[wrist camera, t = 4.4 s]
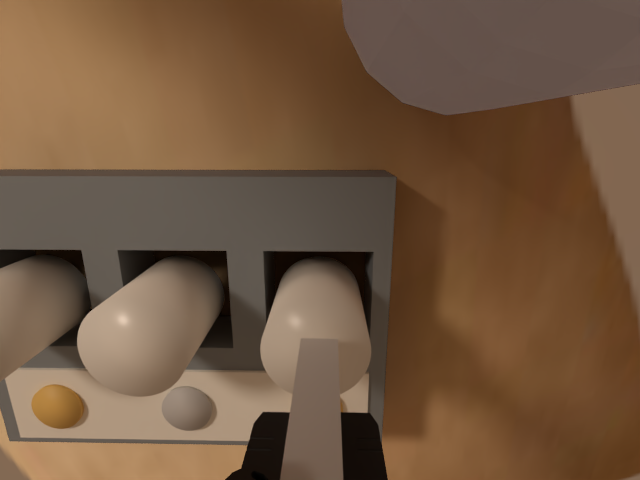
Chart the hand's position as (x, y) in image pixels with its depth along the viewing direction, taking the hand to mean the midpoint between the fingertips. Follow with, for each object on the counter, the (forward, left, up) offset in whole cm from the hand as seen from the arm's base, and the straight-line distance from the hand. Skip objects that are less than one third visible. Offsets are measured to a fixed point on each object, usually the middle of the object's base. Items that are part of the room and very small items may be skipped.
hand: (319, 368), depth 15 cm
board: (-8, -1, -10) cm, 13 cm away
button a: (-16, 0, -7) cm, 18 cm away
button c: (0, 0, -7) cm, 7 cm away
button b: (-8, 0, -7) cm, 11 cm away
